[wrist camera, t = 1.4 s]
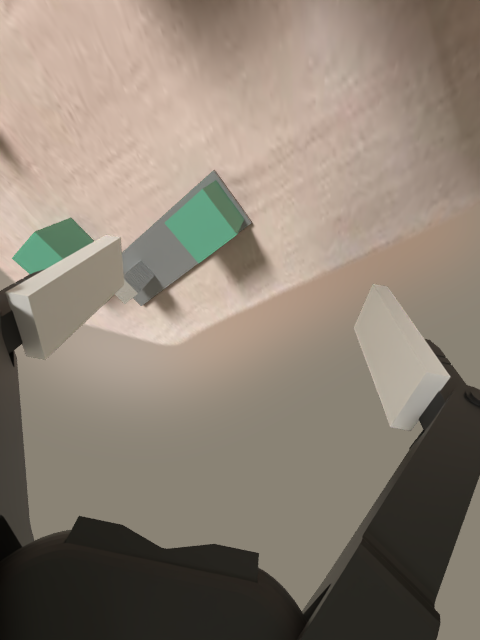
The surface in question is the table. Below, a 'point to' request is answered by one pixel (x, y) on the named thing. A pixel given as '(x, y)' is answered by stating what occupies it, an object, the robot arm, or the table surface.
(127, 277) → the post
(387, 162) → the table surface
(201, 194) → the stand
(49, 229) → the green block
